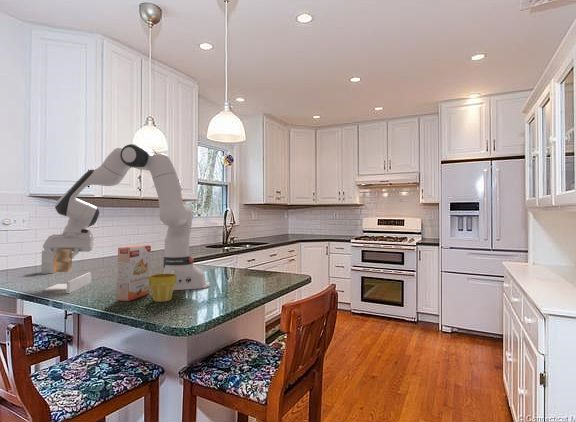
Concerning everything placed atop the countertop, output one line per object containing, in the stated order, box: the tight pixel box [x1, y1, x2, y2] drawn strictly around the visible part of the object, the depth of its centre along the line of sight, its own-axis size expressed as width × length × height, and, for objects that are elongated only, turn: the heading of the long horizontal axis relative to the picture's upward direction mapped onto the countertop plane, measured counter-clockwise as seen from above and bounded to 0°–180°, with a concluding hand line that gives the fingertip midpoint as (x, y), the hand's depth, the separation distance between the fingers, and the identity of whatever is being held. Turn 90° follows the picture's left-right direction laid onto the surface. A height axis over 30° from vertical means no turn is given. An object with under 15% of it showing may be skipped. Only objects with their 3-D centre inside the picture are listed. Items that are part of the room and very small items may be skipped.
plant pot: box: [149, 273, 176, 303], centre depth 138 cm, size 10×10×10 cm
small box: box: [40, 249, 57, 274], centre depth 199 cm, size 8×6×13 cm
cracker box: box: [116, 244, 152, 302], centre depth 142 cm, size 14×6×21 cm, turn 168°
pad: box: [43, 283, 67, 292], centre depth 159 cm, size 11×12×1 cm
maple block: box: [55, 249, 73, 273], centre depth 159 cm, size 5×4×10 cm
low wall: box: [66, 272, 92, 294], centre depth 159 cm, size 1×24×5 cm, turn 10°
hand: (63, 257), depth 158 cm, fingers closed on maple block, 5 cm apart
